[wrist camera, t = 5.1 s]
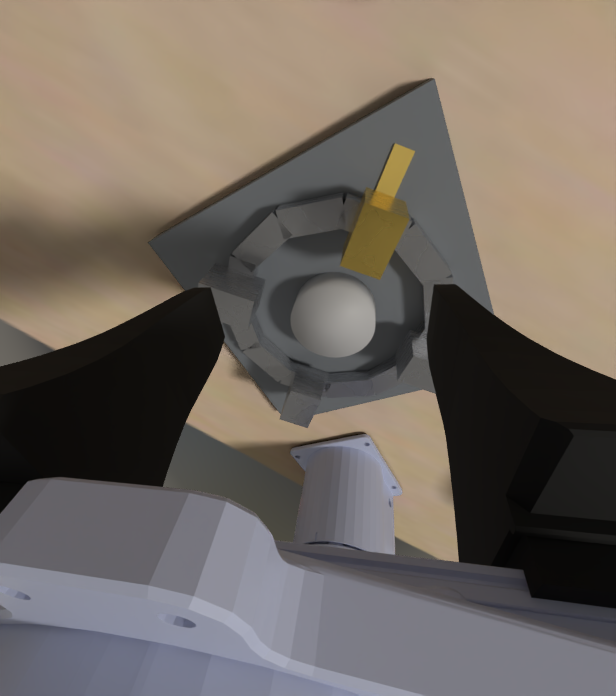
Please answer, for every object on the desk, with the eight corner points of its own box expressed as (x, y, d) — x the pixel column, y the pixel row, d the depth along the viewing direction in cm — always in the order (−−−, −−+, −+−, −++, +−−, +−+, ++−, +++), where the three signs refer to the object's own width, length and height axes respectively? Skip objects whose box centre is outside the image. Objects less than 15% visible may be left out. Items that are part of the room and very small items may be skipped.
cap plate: (502, 357, 24) (516, 388, 22) (288, 410, 31) (281, 438, 28) (431, 77, 15) (440, 79, 13) (157, 235, 22) (132, 254, 20)
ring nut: (523, 240, 18) (550, 270, 15) (393, 417, 27) (395, 456, 25) (239, 134, 17) (212, 147, 14) (206, 356, 26) (187, 389, 24)
